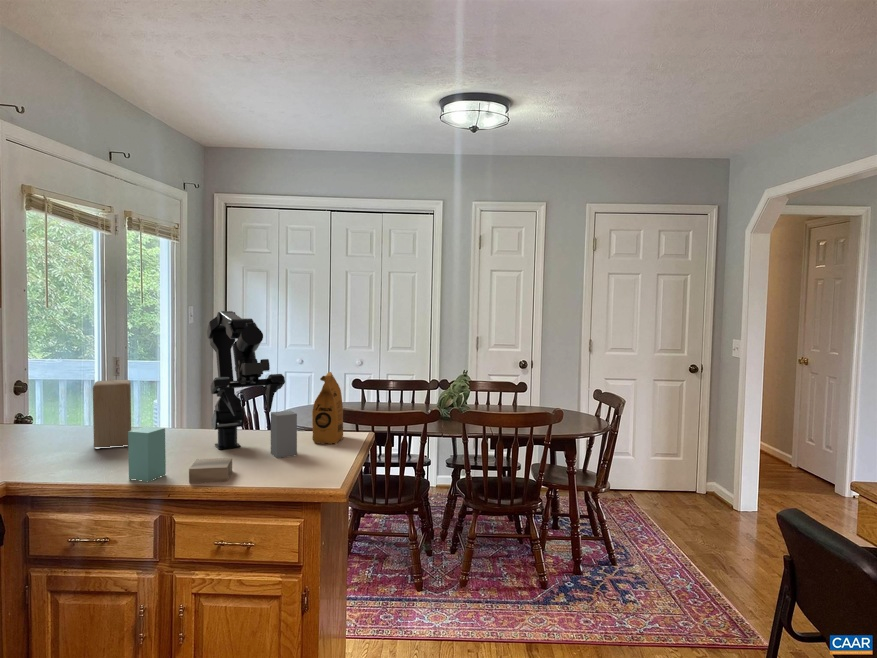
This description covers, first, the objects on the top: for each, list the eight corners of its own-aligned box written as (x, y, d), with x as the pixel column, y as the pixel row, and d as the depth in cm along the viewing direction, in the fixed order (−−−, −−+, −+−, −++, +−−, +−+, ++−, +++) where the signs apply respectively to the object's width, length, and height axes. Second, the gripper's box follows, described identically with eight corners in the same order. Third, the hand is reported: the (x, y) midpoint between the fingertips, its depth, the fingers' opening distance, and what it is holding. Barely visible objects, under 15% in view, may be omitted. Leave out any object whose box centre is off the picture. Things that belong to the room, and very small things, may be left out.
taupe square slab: (196, 474, 153) (196, 459, 153) (232, 472, 155) (232, 457, 154) (189, 484, 144) (188, 469, 144) (226, 482, 146) (226, 467, 146)
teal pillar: (146, 473, 152) (146, 426, 151) (165, 475, 150) (165, 428, 150) (128, 480, 146) (128, 431, 146) (148, 482, 145) (147, 433, 144)
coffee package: (307, 444, 184) (307, 376, 183) (318, 435, 197) (318, 371, 196) (337, 445, 183) (337, 376, 182) (346, 436, 196) (347, 371, 195)
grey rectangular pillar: (270, 453, 173) (270, 412, 172) (290, 450, 176) (290, 410, 175) (276, 458, 168) (276, 415, 167) (296, 455, 171) (296, 413, 170)
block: (93, 450, 174) (92, 385, 173) (95, 443, 183) (94, 380, 182) (131, 447, 178) (130, 383, 178) (131, 440, 187) (130, 379, 186)
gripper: (215, 349, 149) (221, 406, 143) (286, 347, 159) (294, 400, 153) (207, 365, 157) (213, 420, 152) (275, 362, 167) (283, 413, 162)
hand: (252, 413), depth 154 cm, fingers open, 9 cm apart
